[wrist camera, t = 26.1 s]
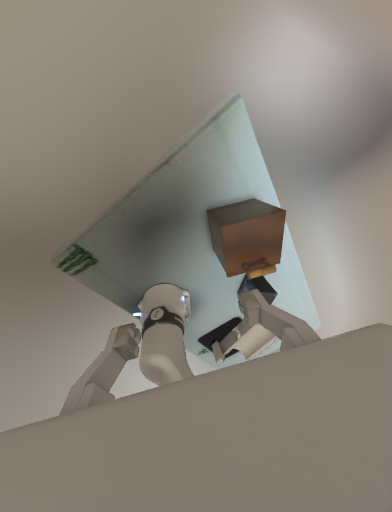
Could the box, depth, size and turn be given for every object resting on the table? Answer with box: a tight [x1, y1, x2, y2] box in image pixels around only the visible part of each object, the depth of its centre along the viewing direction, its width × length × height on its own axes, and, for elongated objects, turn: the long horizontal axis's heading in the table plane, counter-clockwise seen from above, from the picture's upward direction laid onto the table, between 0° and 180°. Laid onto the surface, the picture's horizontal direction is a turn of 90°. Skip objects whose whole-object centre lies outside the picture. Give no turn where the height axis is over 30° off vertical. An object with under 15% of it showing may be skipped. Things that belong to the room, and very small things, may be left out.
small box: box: [238, 274, 278, 305], centre depth 54 cm, size 11×6×10 cm, turn 168°
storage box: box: [207, 199, 283, 272], centre depth 40 cm, size 13×14×12 cm
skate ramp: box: [212, 319, 277, 366], centre depth 71 cm, size 25×23×10 cm
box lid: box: [220, 210, 286, 279], centre depth 33 cm, size 13×14×5 cm
